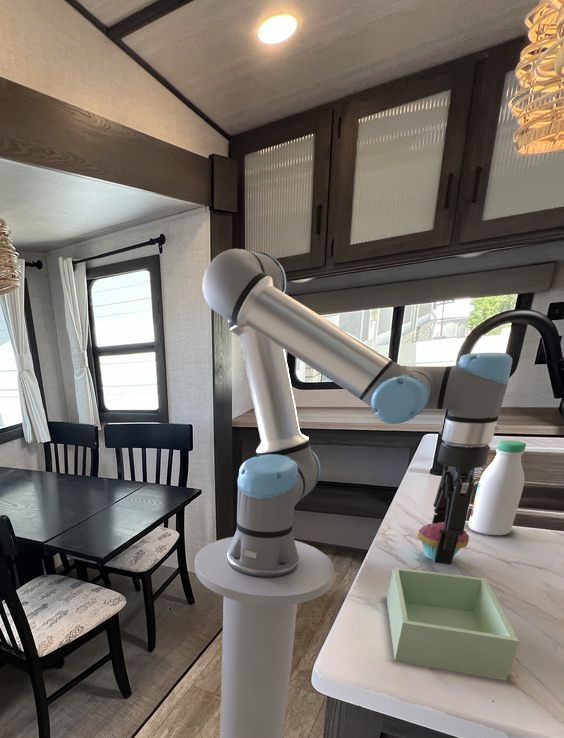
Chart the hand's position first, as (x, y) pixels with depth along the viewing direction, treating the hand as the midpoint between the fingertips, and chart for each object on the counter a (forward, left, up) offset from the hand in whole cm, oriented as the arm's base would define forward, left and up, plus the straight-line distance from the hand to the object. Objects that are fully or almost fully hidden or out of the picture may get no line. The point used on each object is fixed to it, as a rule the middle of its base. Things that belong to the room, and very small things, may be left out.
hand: (438, 553), depth 95 cm
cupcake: (0, 0, -1) cm, 1 cm away
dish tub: (+29, -4, -1) cm, 29 cm away
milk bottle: (-19, +12, -1) cm, 23 cm away
